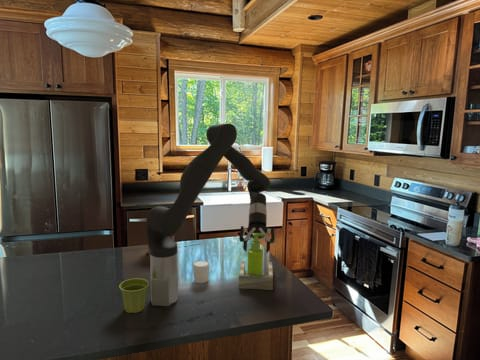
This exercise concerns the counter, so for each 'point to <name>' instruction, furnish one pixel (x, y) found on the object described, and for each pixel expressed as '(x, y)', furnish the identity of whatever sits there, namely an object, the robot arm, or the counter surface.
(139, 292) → the plant pot
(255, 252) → the soap dispenser
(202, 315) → the counter surface
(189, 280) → the counter surface
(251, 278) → the shelf
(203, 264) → the shot glass
